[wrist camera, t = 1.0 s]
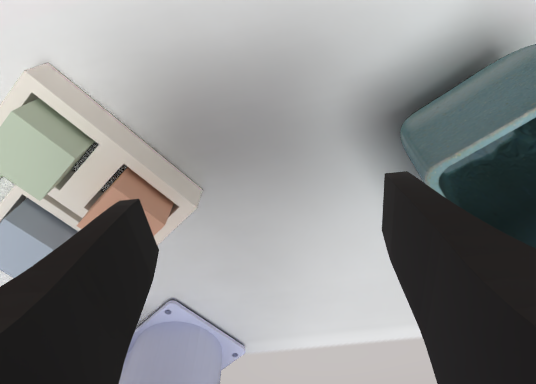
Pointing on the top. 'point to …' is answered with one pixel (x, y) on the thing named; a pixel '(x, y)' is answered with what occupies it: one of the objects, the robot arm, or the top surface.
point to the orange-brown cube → (133, 188)
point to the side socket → (47, 203)
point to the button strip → (101, 148)
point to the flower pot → (483, 144)
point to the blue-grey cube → (29, 237)
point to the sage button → (39, 147)
